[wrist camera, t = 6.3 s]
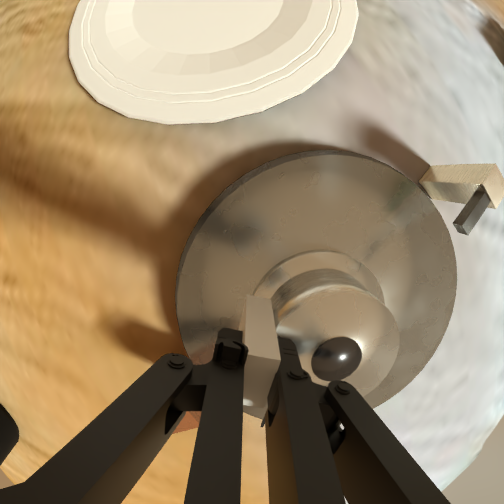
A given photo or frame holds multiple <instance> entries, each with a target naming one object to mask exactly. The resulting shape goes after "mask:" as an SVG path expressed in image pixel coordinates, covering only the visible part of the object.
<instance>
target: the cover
mask: <svg viewBox="0 0 504 504" xmlns="http://www.w3.org/2000/svg"><path fill="white" fill-rule="evenodd" d="M252 296H257V297H262V298H267V299H271V304H272V309H273V315H274V321H275V327H276V333H277V337H281V338H286V339H291V340H292V341H293V342H294V344H295V345H296V348H297V352H298V356H299V359H300V363H301V367H302V369H304V370H305V371H306V372H308V373H309V375H310V376H311V380H312V382H314V383H317V384H319V385H323V386H326V387H327V386H328V384H329V383H330V382H331V381H334V380H342V381H346V382H348V383H349V384H351V385H352V386H354V387H355V388H356V390H357V391H358V392H359V393H360V394H361V396H362V397H364V396H365V395H367V394H368V393H370V392H371V391H372V390H373V389H375V388H376V387H377V386H378V385H379V384H380V383H381V382H382V381H383V379H384V378H385V377H386V376H387V374H388V373H389V371H390V370H391V368H392V366H393V364H394V362H395V359H396V357H397V353H398V349H399V342H400V339H399V329H398V325H397V323H396V320H395V318H394V316H393V315H392V313H391V312H390V311H389V309H388V308H387V307H386V306H385V301H384V296H383V291H382V289H381V286H380V284H379V282H378V281H377V279H376V277H375V276H374V275H373V273H372V272H371V271H370V270H369V269H368V268H367V267H365V266H364V265H363V264H362V263H360V262H359V261H358V260H356V259H355V258H353V257H351V256H349V255H347V254H345V253H342V252H338V251H334V250H327V249H316V250H308V251H304V252H300V253H297V254H294V255H292V256H290V257H288V258H286V259H284V260H282V261H280V262H279V263H278V264H276V265H275V266H274V267H272V268H271V269H270V270H269V271H268V272H267V273H266V274H265V275H264V276H263V278H262V279H261V280H260V281H259V283H258V284H257V286H256V288H255V289H254V292H253V294H252Z"/></svg>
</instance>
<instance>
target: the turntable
mask: <svg viewBox="0 0 504 504" xmlns="http://www.w3.org/2000/svg"><path fill="white" fill-rule="evenodd" d="M316 249H327V250H334V251H338V252H342V253H345V254H347V255H349V256H351V257H353V258H355V259H356V260H358V261H359V262H360V263H362V264H363V265H364V266H365V267H367V268H368V269H369V270H370V271H371V272H372V273H373V275H374V276H375V277H376V279H377V281H378V282H379V284H380V286H381V289H382V291H383V296H384V301H385V306H386V307H387V308H388V309H389V311H390V312H391V313H392V315H393V316H394V318H395V320H396V323H397V325H398V329H399V339H400V342H399V349H398V353H397V357H396V359H395V362H394V364H393V366H392V368H391V370H390V371H389V373H388V374H387V376H386V377H385V378H384V379H383V381H382V382H381V383H380V384H379V385H378V386H377V387H376V388H375V389H373V390H372V391H371V392H370V393H368V394H367V395H365V396H364V397H363V398H364V399H365V401H366V402H367V403H368V404H369V405H370V407H371V408H372V409H373V408H375V407H377V406H379V405H380V404H382V403H384V402H385V401H387V400H389V399H390V398H391V397H393V396H394V395H396V394H397V393H398V392H400V391H401V390H402V389H403V388H404V387H405V386H407V385H408V384H409V383H410V382H411V381H412V380H413V379H414V378H415V377H416V376H417V375H418V374H419V372H420V371H421V370H422V369H423V368H424V367H425V365H426V364H427V363H428V361H429V360H430V359H431V357H432V356H433V354H434V353H435V351H436V349H437V347H438V346H439V344H440V342H441V340H442V338H443V336H444V334H445V331H446V329H447V327H448V324H449V321H450V318H451V315H452V311H453V307H454V302H455V297H456V286H457V267H456V258H455V252H454V247H453V244H452V240H451V237H450V234H449V231H448V229H447V227H446V225H445V222H444V220H443V218H442V216H441V215H440V213H439V212H438V210H437V209H436V207H435V206H434V204H433V203H432V201H431V200H430V199H429V198H428V197H427V196H426V195H425V193H424V192H423V191H422V190H421V189H420V188H419V187H418V186H416V185H415V184H414V183H413V182H411V181H410V180H409V179H408V178H406V177H405V176H404V175H402V174H400V173H398V172H397V171H395V170H393V169H391V168H389V167H387V166H385V165H382V164H379V163H377V162H374V161H371V160H368V159H363V158H358V157H353V156H344V155H322V156H312V157H305V158H301V159H297V160H293V161H289V162H286V163H283V164H280V165H278V166H276V167H273V168H271V169H269V170H266V171H264V172H262V173H260V174H259V175H257V176H255V177H254V178H252V179H250V180H249V181H247V182H245V183H244V184H242V185H241V186H240V187H239V188H237V189H236V190H235V191H234V192H233V193H231V194H230V195H229V196H228V197H226V198H225V199H224V200H223V201H222V202H221V204H220V205H219V206H218V207H217V208H216V209H215V210H214V211H213V212H212V213H211V214H210V216H209V217H208V218H207V220H206V221H205V223H204V224H203V226H202V227H201V229H200V230H199V232H198V233H197V235H196V237H195V239H194V241H193V243H192V245H191V247H190V249H189V251H188V253H187V255H186V258H185V262H184V265H183V268H182V271H181V274H180V280H179V286H178V292H177V316H178V323H179V330H180V334H181V337H182V341H183V344H184V348H185V350H186V352H187V354H188V356H189V358H190V360H191V361H192V363H193V365H202V364H206V363H208V362H210V361H211V360H212V358H213V353H214V348H215V344H216V340H217V336H218V331H219V330H220V329H222V328H223V327H225V328H230V329H235V330H238V329H239V325H240V321H241V316H242V312H243V308H244V304H245V300H246V295H252V294H253V292H254V289H255V288H256V286H257V284H258V283H259V281H260V280H261V279H262V278H263V276H264V275H265V274H266V273H267V272H268V271H269V270H270V269H271V268H272V267H274V266H275V265H276V264H278V263H279V262H280V261H282V260H284V259H286V258H288V257H290V256H292V255H294V254H297V253H300V252H304V251H308V250H316ZM267 408H268V403H267V402H266V405H265V407H264V408H260V407H253V406H247V405H243V412H245V413H247V414H249V415H251V416H254V417H257V418H260V419H263V418H264V416H265V413H266V410H267ZM201 412H202V411H186V414H185V416H184V417H183V419H182V420H181V422H180V423H179V425H178V426H177V427H176V429H175V430H174V432H173V433H172V434H174V433H178V432H182V431H186V430H190V429H193V428H197V427H199V422H200V417H201Z"/></svg>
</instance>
